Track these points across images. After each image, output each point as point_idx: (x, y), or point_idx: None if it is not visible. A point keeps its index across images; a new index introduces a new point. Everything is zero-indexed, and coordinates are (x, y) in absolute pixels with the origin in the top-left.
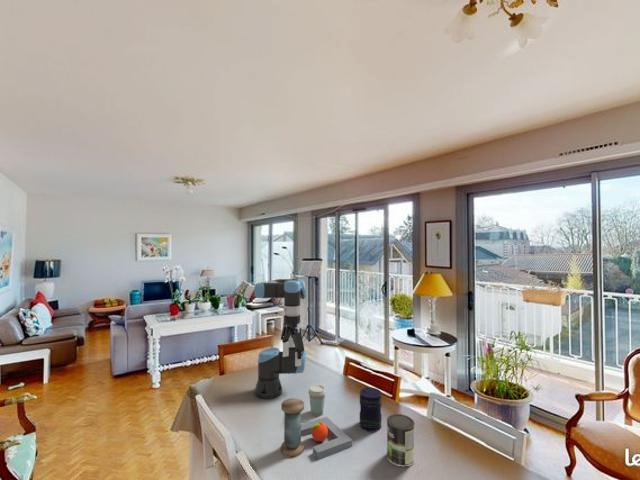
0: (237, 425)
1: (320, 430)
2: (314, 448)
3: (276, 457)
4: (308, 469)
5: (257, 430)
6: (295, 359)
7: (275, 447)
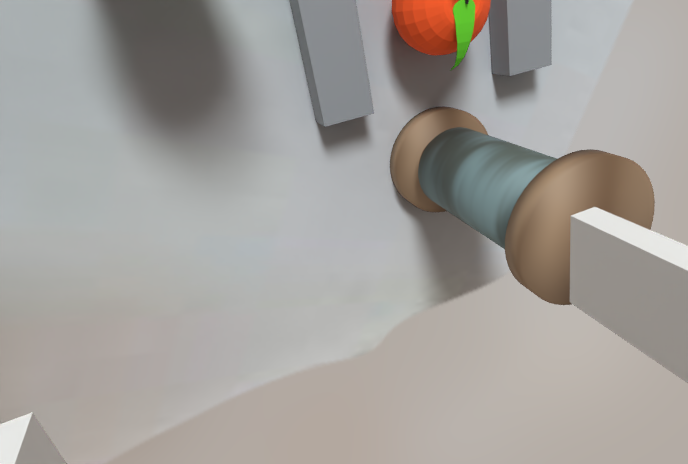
0: (180, 393)
1: (488, 11)
2: (522, 71)
3: (456, 227)
4: (560, 117)
5: (248, 303)
6: (673, 363)
7: (398, 227)
